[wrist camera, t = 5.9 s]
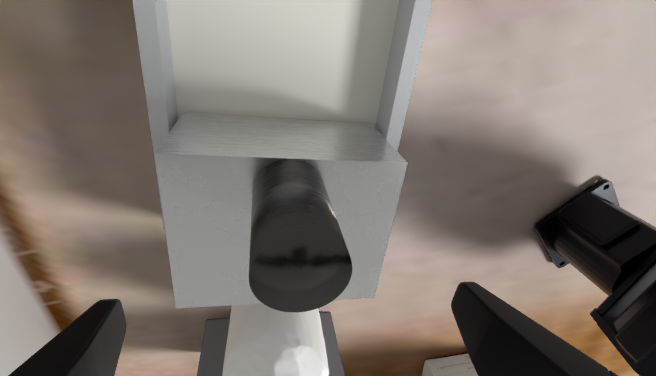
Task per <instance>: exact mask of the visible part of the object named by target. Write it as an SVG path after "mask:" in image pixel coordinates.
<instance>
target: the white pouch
mask: <svg viewBox="0 0 656 376" xmlns="http://www.w3.org/2000/svg"><path fill="white" fill-rule="evenodd" d="M222 376H329V368H328V359H327V354H326V347H325V341H324V337H323V332H322V326H321V319H320V314H319V310H318V308H317V309H314V310H311V311H306V312H283V311H278V310H275V309H272V308H270V307H268V306H266V305H264V304H248V305H232V306H231V315H230V323H229V330H228V337H227V344H226V350H225V357H224V364H223V373H222Z"/></svg>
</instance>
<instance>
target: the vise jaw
mask: <svg viewBox="0 0 656 376" xmlns="http://www.w3.org/2000/svg"><path fill="white" fill-rule="evenodd" d="M155 159H156V166H157V174H158V181H159V188H160V196H161V203H162V210H163V218H164V225H165V232H166V240H167V247H168V255H169V262H170V269H171V277H172V284H173V291H174V299H175V306H176V308H192V307H211V306H230V305H248V304H264V305H266V306H268V307H270V308H272V309H275V310H278V311H283V312H306V311H311V310H314V309H317V308H320V307H322V306H324V305H326V304H328V303H330V302H331V301H333V300H342V299H360V298H374V296H375V292H376V288H377V284H378V280H379V276H380V272H381V268H382V264H383V260H384V256H385V252H386V248H387V244H388V240H389V236H390V232H391V228H392V225H393V221H394V217H395V213H396V209H397V205H398V201H399V197H400V193H401V189H402V185H403V181H404V177H405V173H406V169H407V165H408V162H407V161H406V160H405V159H404V158H403V157H402V156H401V155H400V154H399V153H398V152H397V151H396V149H395V148H394V147H393V146H392V145H391V144H390V143H389V142H388V141H387V140H386V139H385V138H384V136H383V135H382V134H381V133H380V132H379V131H378V130H377V129H376V128H375V127H374V126H373V125H372V123H362V122H346V121H330V120H314V119H298V118H282V117H267V116H251V115H235V114H219V113H203V112H187V111H184V112H183V114H182V115H181V117H180V118H179V120H178V121H177V122H176V124H175V125H174V127H173V128H172V130H171V131H170V132H169V134H168V135H167V137H166V138H165V140H164V141H163V142H162V144H161V145H160V147H159V148H158V150H157V151H156V152H155Z"/></svg>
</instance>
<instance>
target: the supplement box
mask: <svg viewBox="0 0 656 376" xmlns="http://www.w3.org/2000/svg"><path fill="white" fill-rule="evenodd" d="M422 376H478V374H477V372H476V370H475V368H474V366H473V364H472V362H471V359H470V357H469V354H468V353H467V354H462V355H455V356H450V357H444V358H437V359H428V360H425V364H424V367H423V372H422Z"/></svg>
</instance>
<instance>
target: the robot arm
mask: <svg viewBox="0 0 656 376" xmlns="http://www.w3.org/2000/svg"><path fill="white" fill-rule="evenodd" d="M535 230H536V232H537V234H538V236H539V237H540V239H541V241H542V243H543V245H544V247H545V249H546V250H547V252H548V254H549V256H550V258H551V260H552V261H553V263H554V264H555V265H556V266H557V267H558V268H562V267H564V266H565V265H567V264H569V263H570V264H571V265H573V266H574V267H575V268H576V269H577V270H579V271H580V272H581V273H582V274H583V275H584V276H586V277H587V278H588V279H589V280H590V281H592V282H593V283H594V284H595V285H596V286H598V287H599V288H600V289H601V290H602V291H603V292H605V293H606V294H607V295H608V297H607V298H606V299H605V301H604V302H603V303H602V304H601V305H600V306H599V307H598V308H597V309H596V308H595V309H594V310H593V311H592V312H591V313H590V315H591V316H592V317H593V319H594V320H595V321H596V322H597V325H598V326H599V327H600V329H601V330H602V331H603V332H604V334H605V335H606V336H607V337H608V339H609V340H610V341H611V342H612V344H613V345H614V346H615V347H616V349H617V350H618V351H619V352H620V354H621V355H622V356H623V357H624V359H625V360H626V361H627V362H628V364H629V365H630V366H631V367H632V369H633V370H634V371H635V372H636V373H638V374H639V376H656V227H654V226H652V225H651V224H649V223H647V222H645V221H643V220H642V219H640V218H638V217H636V216H635V215H633V214H631V213H629V212H628V211H626V210H624V209H622V208H621V207H620V206H619V203H618V200H617V197H616V193H615V190H614V187H613V184H612V182H611V181H609V180H606V179H603V180H601V181H599V182H598V183H596V184H595V185H593V186H592V187H590V188H589V189H587V190H586V191H584V192H583V193H581V194H580V195H578V196H577V197H575V198H574V199H572V200H571V201H569V202H568V203H566V204H565V205H563V206H562V207H560V208H558V209H557V210H555V211H554V212H552V213H551V214H549V215H548V216H546V217H545V218H543V219H542V220H540V221H539V222H538V223H536V225H535ZM451 308H452V312H453V314H454V317H455V320H456V322H457V325H458V328H459V330H460V333H461V336H462V338H463V341H464V344H465V346H466V349H467V352H468V354H469V357H470V359H471V362H472V364H473V366H474V368H475V370H476V372H477V374H478V376H618V375H616V374H615V373H613V372H612V371H608V369H607V368H606V367H604V366H602V365H601V364H599V363H598V362H596V361H595V360H593V359H592V358H590V357H589V356H587V355H586V354H584V353H583V352H581V351H579V350H578V349H576V348H575V347H573V346H572V345H570V344H569V343H567V342H566V341H564V340H563V339H561V338H560V337H558V336H556V335H555V334H553V333H552V332H550V331H549V330H547V329H546V328H544V327H543V326H541V325H540V324H538V323H537V322H535V321H533V320H532V319H530V318H529V317H527V316H526V315H524V314H523V313H521V312H520V311H518V310H517V309H515V308H514V307H512V306H510V305H509V304H507V303H506V302H504V301H503V300H501V299H500V298H498V297H497V296H495V295H494V294H492V293H491V292H489V291H487V290H486V289H484V288H483V287H481V286H480V285H478V284H477V283H475V282H461V283H460V284H459V285H458V287H457V289H456V292H455V294H454V297H453V299H452V303H451ZM125 332H126V320H125V316H124V312H123V308H122V303H121V301H120V300H119V299H104V300H100V301H98V302H96V303H95V304H94V305H93V306H91V307H90V308H89V309H88V310H87V311H85V312H84V313H83V314H82V315H81V316H79V317H78V318H77V319H76V320H75V321H73V322H72V323H71V324H70V325H69V326H67V327H66V328H65V329H64V330H63V331H61V332H60V333H59V334H58V335H57V336H55V337H54V338H53V339H52V340H51V341H49V342H48V343H47V344H46V345H45V346H43V347H42V348H41V349H40V350H39V351H37V352H36V353H35V354H34V355H33V356H31V357H30V358H29V359H28V360H27V361H25V362H24V363H23V364H22V365H21V366H19V367H18V368H17V369H16V370H15V371H13V372H12V373H11V374H10V375H9V376H114V374H115V371H116V367H117V363H118V359H119V355H120V351H121V348H122V344H123V340H124V336H125Z"/></svg>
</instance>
